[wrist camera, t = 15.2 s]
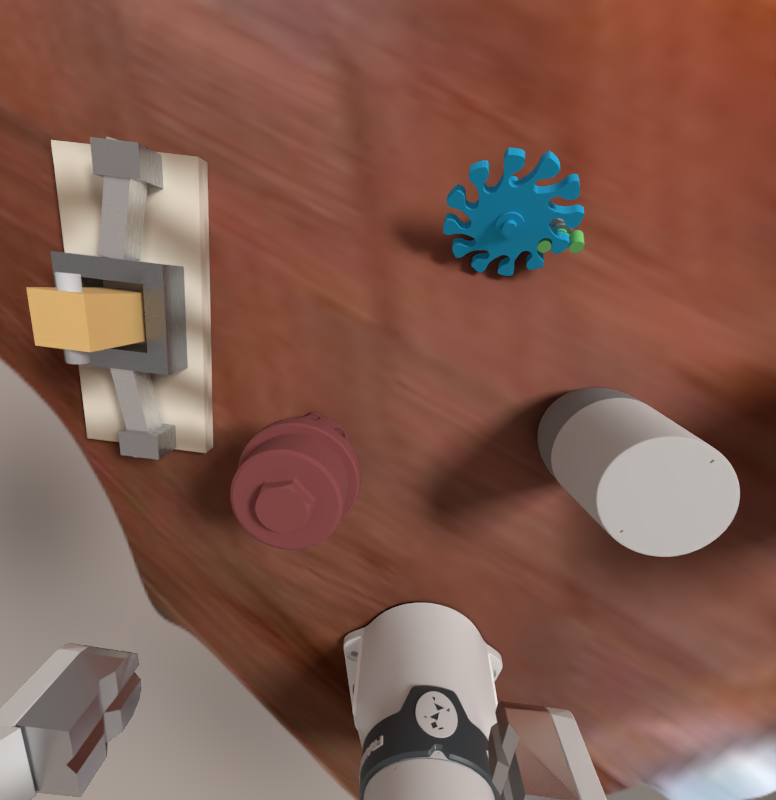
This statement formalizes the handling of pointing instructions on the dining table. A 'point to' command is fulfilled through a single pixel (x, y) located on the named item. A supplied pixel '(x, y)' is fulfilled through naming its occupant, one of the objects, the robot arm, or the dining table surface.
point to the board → (162, 243)
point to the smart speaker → (638, 472)
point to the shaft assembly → (162, 289)
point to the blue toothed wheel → (516, 214)
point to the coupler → (85, 317)
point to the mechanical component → (296, 482)
